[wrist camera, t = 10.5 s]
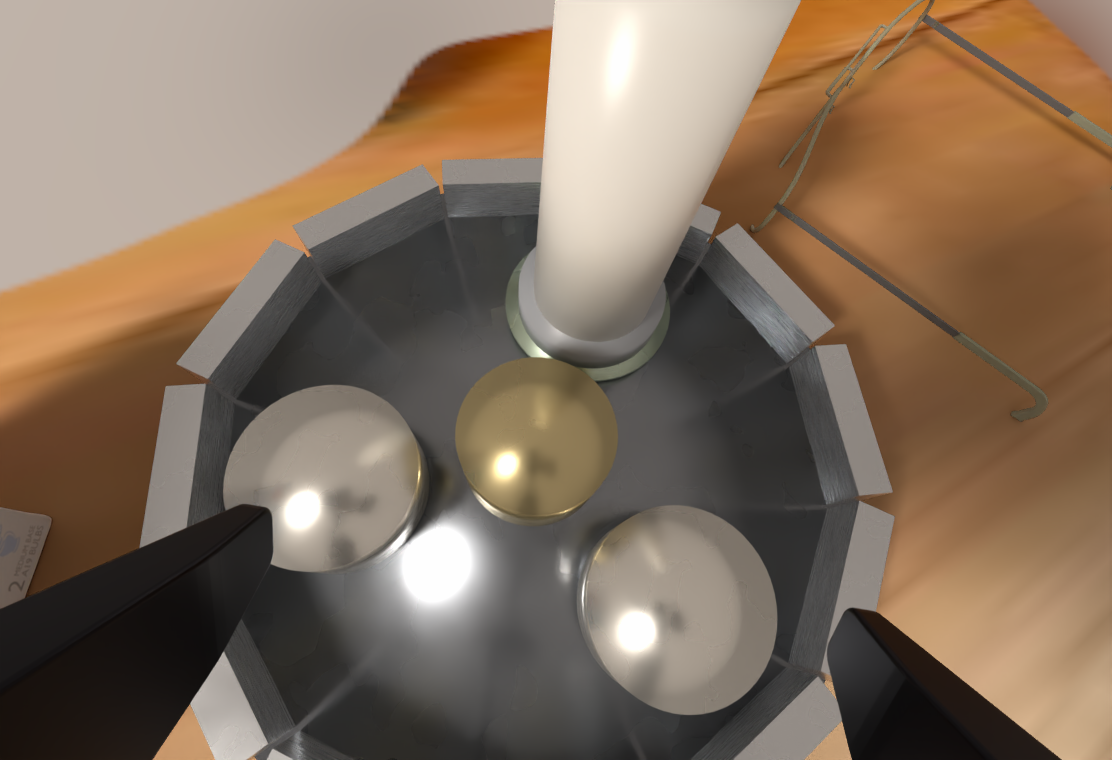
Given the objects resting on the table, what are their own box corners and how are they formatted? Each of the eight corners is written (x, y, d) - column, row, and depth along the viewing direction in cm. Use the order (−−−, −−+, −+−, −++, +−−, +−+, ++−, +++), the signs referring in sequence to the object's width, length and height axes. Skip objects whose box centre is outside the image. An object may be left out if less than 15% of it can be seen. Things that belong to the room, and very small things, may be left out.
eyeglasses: (861, 57, 31) (922, -36, 27) (1111, 197, 29) (1228, 121, 24) (720, 236, 26) (766, 158, 21) (1014, 426, 23) (1138, 385, 19)
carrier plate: (931, 794, 18) (1049, 851, 14) (137, 923, 15) (8, 1038, 11) (760, 196, 26) (803, 126, 22) (231, 211, 24) (176, 136, 20)
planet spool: (686, 321, 22) (904, -15, 10) (574, 395, 20) (668, 107, 8) (601, 223, 23) (700, -177, 11) (490, 285, 22) (466, -99, 10)
